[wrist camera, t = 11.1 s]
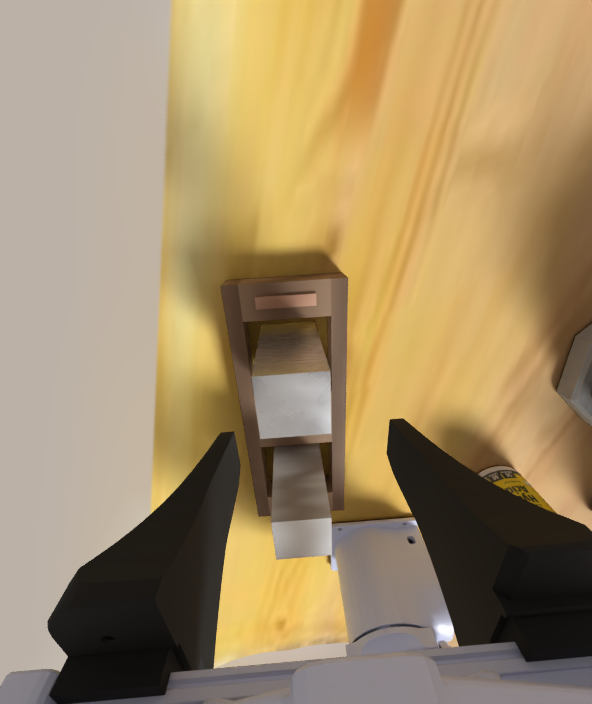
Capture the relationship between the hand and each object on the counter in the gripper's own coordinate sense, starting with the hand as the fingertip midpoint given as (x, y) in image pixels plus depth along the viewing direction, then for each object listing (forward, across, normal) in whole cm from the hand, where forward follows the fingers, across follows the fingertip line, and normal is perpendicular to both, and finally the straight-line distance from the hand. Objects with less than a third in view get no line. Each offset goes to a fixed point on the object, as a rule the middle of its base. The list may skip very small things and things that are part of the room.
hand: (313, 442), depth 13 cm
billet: (+10, +1, 0) cm, 10 cm away
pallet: (+10, +1, +5) cm, 12 cm away
